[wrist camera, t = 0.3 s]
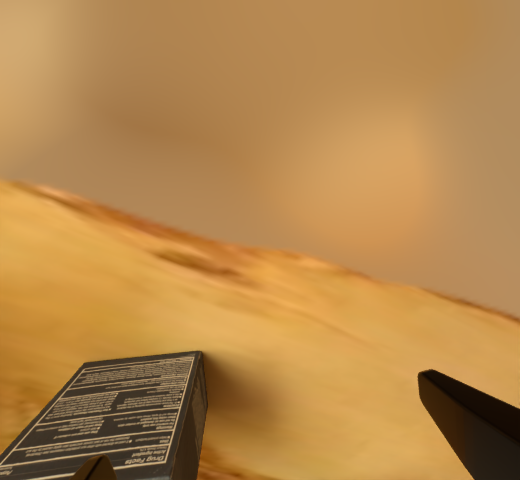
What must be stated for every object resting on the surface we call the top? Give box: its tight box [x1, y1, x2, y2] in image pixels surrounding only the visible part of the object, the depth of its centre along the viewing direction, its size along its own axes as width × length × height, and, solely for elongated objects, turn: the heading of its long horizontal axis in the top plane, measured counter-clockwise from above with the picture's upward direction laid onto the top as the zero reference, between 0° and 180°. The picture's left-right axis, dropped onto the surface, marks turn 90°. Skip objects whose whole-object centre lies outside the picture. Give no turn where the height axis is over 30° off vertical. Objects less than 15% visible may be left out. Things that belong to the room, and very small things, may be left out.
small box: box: [0, 351, 208, 480], centre depth 17 cm, size 11×6×10 cm, turn 94°
